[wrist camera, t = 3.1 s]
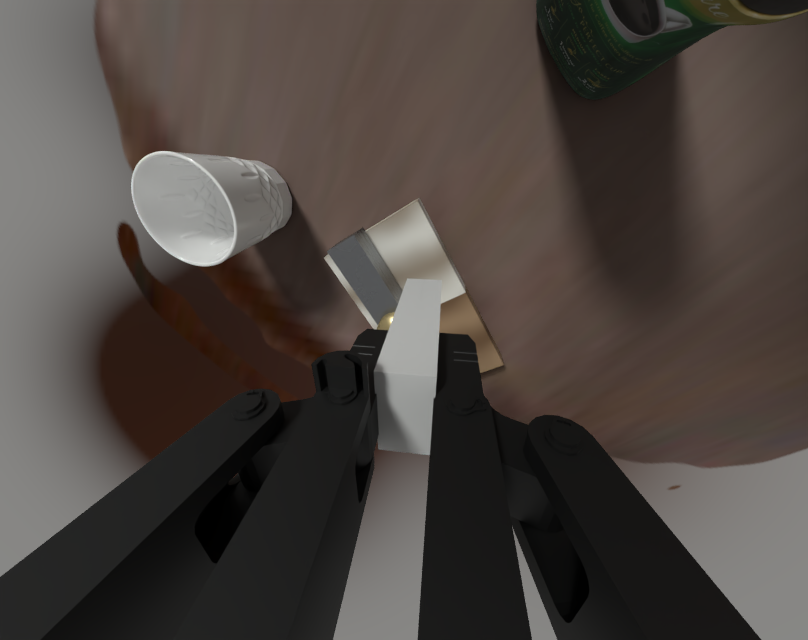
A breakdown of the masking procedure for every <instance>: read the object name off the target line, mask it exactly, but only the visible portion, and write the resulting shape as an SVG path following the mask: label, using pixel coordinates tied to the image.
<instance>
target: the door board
mask: <svg viewBox="0 0 808 640" xmlns="http://www.w3.org/2000/svg"><path fill="white" fill-rule="evenodd" d="M366 233H367V235H368V236H369V238H370V240H371V241H372V243H373V244H374V246H375V248H376V249H377V251H378V253H379V254H380V256H381V257H382V259H383V261H384V262H385V264H386V265H387V267H388V269H389V270H390V272H391V274H392V275H393V277H394V278H395V280H396V282H397V283H398V285H399V286H400V288H401V290H402V291H403V289H404V286H405V283H406V281H407V278H409V279H430V280H442V287H441V306H440V325H439V333H452V334H467V335H469V336H470V337H471V339H472V340H473V341H474V342H475V343H476V350H477V356H478V363H479V369H480V373H482V372H485V371H488V370H491V369H494V368H497V367H499V366H502V365H504V364H503V360H502V356H501V353H500V351H499V350H498V348H497V346H496V344H495V342H494V340H493V338H492V336H491V334H490V332H489V330H488V328H487V327H486V325H485V323H484V321H483V319H482V317H481V315H480V313H479V311H478V309H477V307H476V305H475V304H474V302H473V300H472V298H471V296H470V294H469V292H468V290H467V288H466V286H465V284H464V282H463V281H462V279H461V277H460V275H459V273H458V271H457V269H456V267H455V265H454V263H453V261H452V259H451V258H450V256H449V254H448V252H447V250H446V248H445V246H444V244H443V242H442V240H441V238H440V236H439V234H438V233H437V231H436V229H435V227H434V225H433V223H432V221H431V219H430V217H429V215H428V213H427V211H426V210H425V208H424V206H423V204H422V202H421V200H420V198H418V199H416V200H415V201H413V202H411V203H410V204H408V205H407V206H405V207H403V208H402V209H400V210H398V211H397V212H395V213H394V214H392V215H390V216H389V217H387V218H385V219H384V220H382V221H381V222H379V223H377V224H376V225H374V226H372V227H371V228H369V229H368V230H366ZM324 259H325V260H326V262H327V263H328V265H329V266H330V268H331V269H332V270H333V272H334V273H335V275H336V276H337V277H338V279H339V280H340V282H341V283H342V285H343V286H344V287H345V289H346V290H347V292H348V293H349V295H350V296H351V297H352V299H353V300H354V302H355V303H356V305H357V306H358V307H359V309H360V310H361V312H362V313H363V315H364V316H365V317H366V319H367V320H368V322H369V323H370V325H371V326H372V327H373V329H377V327H378V325H377V324H376V322H375V321H374V319H373V318H372V316H371V315H370V313H369V312H368V310H367V309H366V308H365V306H364V305H363V303H362V302H361V300H360V299H359V297H358V296H357V295H356V293H355V292H354V290H353V289H352V287H351V286H350V284H349V283H348V281H347V280H346V279H345V277H344V276H343V274H342V273H341V271H340V270H339V268H338V267H337V266H336V264H335V263H334V261H333V260H332V258H331V257H330V255H329V254H328V255H327V256H325V257H324Z"/></svg>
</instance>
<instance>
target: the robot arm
mask: <svg viewBox="0 0 808 640" xmlns="http://www.w3.org/2000/svg"><path fill="white" fill-rule="evenodd" d="M441 287H442V280H430V279H409V278H407V281H406V283H405V286H404V289H403V292H402V294H401V297H400V300H399V303H398V306H397V308H396V311H395V314H394V317H393V319H392V322H391V325H390V328H389V330H378V329H367V330H365V331H364V332H363V333H361V334H360V335H358V337H357V339H356V341H355V342H354V344H353V346H352V348H351V350H350V351H335V352H331V353H327V354H325V355H323V356H321V357H319V358H317V359H316V360H315V361H314V362H313V363H312V364H311V365H312V370H313V376H314V381H315V386H316V393H315V395H314V397H312V398H308V399H303V400H296V401H290V402H283V403H281V401H280V398H279V396H278V394H277V393H275V392H273V391H272V390H267V389H255V390H249V391H247V392H244V393H241V394H239V395H237V396H235V397H233V398H232V399H230V400H228V401H227V402H226V403H225V404H223V405H222V406H221V407H219V408H218V409H217V410H216V411H214V412H213V413H212V414H210V415H209V416H208V417H206V418H205V419H204V420H203V421H201V422H200V423H199V424H197V425H196V426H195V427H194V428H192V429H191V430H190V431H188V432H187V433H186V434H185V435H183V436H182V437H181V438H179V439H178V440H177V441H175V442H174V443H173V444H172V445H170V446H169V447H168V448H166V449H165V450H164V451H162V452H161V453H160V454H159V455H157V456H156V457H155V458H154V459H152V460H151V461H150V462H148V463H147V464H146V465H144V466H143V467H142V468H141V469H139V470H138V471H137V472H136V473H134V474H133V475H131V476H130V477H129V478H128V479H126V480H125V481H124V482H122V483H121V484H120V485H119V486H117V487H116V488H115V489H114V490H112V491H111V492H109V493H108V494H107V495H106V496H104V497H103V498H102V499H100V500H99V501H98V502H97V503H95V504H94V505H93V506H91V507H90V508H89V509H88V510H86V511H85V512H84V513H82V514H81V515H80V516H78V517H77V518H76V519H75V520H73V521H72V522H71V523H69V524H68V525H67V526H66V527H64V528H63V529H62V530H60V531H59V532H58V533H56V534H55V535H54V536H53V537H51V538H50V539H49V540H48V541H46V542H45V543H44V544H42V545H41V546H40V547H38V548H37V549H36V550H34V551H33V552H32V553H31V554H29V555H28V556H27V557H25V558H24V559H23V560H22V561H20V562H19V563H18V564H16V565H15V566H14V567H13V568H11V569H10V570H9V571H8V572H6V573H5V574H4V575H2V576H1V577H0V640H333V637H334V632H335V628H336V624H337V620H338V616H339V612H340V608H341V604H342V599H343V595H344V591H345V587H346V583H347V579H348V574H349V570H350V566H351V562H352V558H353V553H354V549H355V545H356V541H357V537H358V533H359V528H360V525H361V520H362V516H363V512H364V507H365V504H366V500H367V496H368V491H369V487H370V483H371V479H372V475H373V470H374V450H375V446H376V442H377V439H378V449H381V450H389V451H398V452H406V453H415V454H424V455H430V462H429V476H428V491H427V506H426V521H425V537H424V552H423V567H422V582H421V598H420V613H419V629H418V640H532V637H531V632H530V626H529V620H528V615H527V609H526V603H525V598H524V592H523V586H522V580H521V575H520V569H519V564H518V557H517V552H516V546H515V540H514V535H513V529H514V531H515V534H516V536H517V539H518V541H519V544H520V546H521V549H522V551H523V554H524V556H525V559H526V562H527V564H528V567H529V569H530V572H531V574H532V576H533V579H534V582H535V584H536V587H537V589H538V592H539V594H540V597H541V599H542V602H543V604H544V607H545V609H546V611H547V614H548V617H549V619H550V622H551V624H552V627H553V630H554V632H555V634H556V637H557V640H761V639H760V638H759V636H758V635H757V634H756V633H755V632H754V631H753V629H752V628H751V627H750V626H749V624H748V623H747V622H746V621H745V620H744V618H743V617H742V616H741V615H740V613H739V612H738V611H737V610H736V609H735V607H734V606H733V605H732V604H731V603H730V602H729V600H728V599H727V598H726V597H725V595H724V594H723V593H722V592H721V591H720V589H719V588H718V587H717V586H716V585H715V583H714V582H713V581H712V580H711V578H710V577H709V576H708V575H707V574H706V572H705V571H704V570H703V569H702V568H701V566H700V565H699V564H698V563H697V562H696V560H695V559H694V558H693V557H692V555H691V554H690V553H689V552H688V551H687V549H686V548H685V547H684V546H683V545H682V543H681V542H680V541H679V540H678V538H677V537H676V536H675V535H674V534H673V532H672V531H671V530H670V529H669V528H668V526H667V525H666V524H665V523H664V522H663V520H662V519H661V518H660V517H659V516H658V514H657V513H656V512H655V511H654V510H653V508H652V507H651V506H650V505H649V504H648V502H647V501H646V500H645V499H644V497H643V496H642V495H641V494H640V493H639V491H638V490H637V489H636V488H635V486H634V485H633V484H632V483H631V482H630V481H629V479H628V478H627V477H626V476H625V474H624V473H623V472H622V471H621V470H620V468H619V467H618V466H617V465H616V463H615V462H614V461H613V460H612V459H611V457H610V456H609V455H608V454H607V453H606V451H605V450H604V449H603V448H602V447H601V445H600V444H599V443H598V442H597V441H596V439H595V438H594V437H593V436H592V435H591V434H590V433H589V432H588V431H587V430H586V429H585V428H583V427H582V426H580V425H578V424H577V423H575V422H573V421H572V420H569V419H566V418H563V417H560V416H554V415H543V416H539V417H536V418H535V419H534V420H532V421H531V422H530V423H529V425H527V424H524V423H521V422H518V421H516V420H513V419H510V418H508V417H505V416H503V415H501V414H500V413H498V412H497V411H495V410H494V409H493V408H492V407H491V406H490V404H489V402H488V400H487V399H486V398H485V397H484V394H483V388H482V382H481V376H480V369H479V363H478V356H477V350H476V343H475V342H474V341H473V340H472V339H471V337H470V336H469V335H467V334H452V333H439V325H440V306H441ZM237 473H238V474H237ZM236 474H237V475H236ZM235 475H236V476H235ZM234 476H235V477H234ZM233 477H234V478H233ZM512 526H513V529H512Z"/></svg>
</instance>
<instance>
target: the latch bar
mask: <svg viewBox="0 0 808 640" xmlns="http://www.w3.org/2000/svg"><path fill="white" fill-rule="evenodd" d="M327 252H328V254H329V255H330V257H331V258H332V260H333V261H334V263H335V264H336V266H337V267H338V268H339V270H340V271H341V273H342V274H343V276H344V277H345V279H346V280H347V281H348V283H349V284H350V286H351V287H352V289H353V290H354V292H355V293H356V295H357V296H358V297H359V299H360V300H361V302H362V303H363V305H364V306H365V308H366V309H367V310H368V312H369V313H370V315H371V316H372V318H373V319H374V321H375V322H376V324H377V325H378V327H377V329H378V330H389V328H390V325H391V322H392V319H393V317H394V314H395V311H396V308H397V306H398V303H399V300H400V297H401V294H402V292H403V291H402V290H401V288H400V286H399V285H398V283H397V282H396V280H395V278H394V277H393V275H392V274H391V272H390V270H389V269H388V267H387V265H386V264H385V262H384V261H383V259H382V257H381V256H380V254H379V253H378V251H377V249H376V248H375V246H374V244H373V243H372V241H371V240H370V238H369V236H368V235H367V233H366V231H365V230H364V228H361V229H360V230H358V231H356V232H355V233H353V234H352V235H350V236H348V237H347V238H345V239H344V240H342V241H340V242H339V243H337V244H336V245H335V246H333V247H332V248H331V249H329V250H328V251H327Z"/></svg>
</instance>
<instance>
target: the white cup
mask: <svg viewBox="0 0 808 640" xmlns="http://www.w3.org/2000/svg"><path fill="white" fill-rule="evenodd" d="M131 192H132V199H133V203H134V206H135V209H136V212H137V214H138V216H139V218H140V220H141V222H142V224H143V225H144V227H145V229H146V230H147V231H148V233H149V234H150V235H151V236H152V238H153V239H154V240H155V241H156V242H157V243H158V244H159V245H160V246H161V247H162V248H163V249H165V250H166V251H167V252H168V253H170V254H171V255H173V256H174V257H176V258H178V259H180V260H181V261H184V262H186V263H189V264H192V265H196V266H213V265H217V264H219V263H221V262H223V261H225V260H227V259H229V258H231V257H232V256H234V255H236V254H238V253H240V252H242V251H244V250H245V249H247V248H249V247H251V246H253V245H255V244H257V243H258V242H260V241H262V240H263V239H265V238H267V237H269V235H270V234H272V233H273V232H275V231H277V230H278V229H280V228H282V227H284V226H285V225H286V223H287V222H288V220H289V218H290V216H291V214H292V197H291V194H290V191H289V189H288V186H287V183H286V182H285V181H284V179H283V178H282V177H281V176H280V175H279V173H278V172H277V171H276V170H275V169H274V168H272V167H270V166H268V165H266V164H264V163H262V162H261V161H251V160H242V159H239V158H233V157H225V156H217V155H204V154H192V153H180V152H169V151H159V152H154V153H151V154H149V155H147V156H145V157H144V158H142V159H141V160H140V161H139V163H138V164H137V165H136V167H135V169H134V172H133V175H132V181H131Z"/></svg>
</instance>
